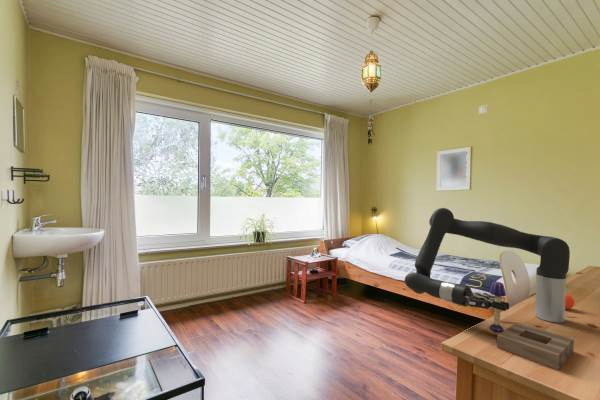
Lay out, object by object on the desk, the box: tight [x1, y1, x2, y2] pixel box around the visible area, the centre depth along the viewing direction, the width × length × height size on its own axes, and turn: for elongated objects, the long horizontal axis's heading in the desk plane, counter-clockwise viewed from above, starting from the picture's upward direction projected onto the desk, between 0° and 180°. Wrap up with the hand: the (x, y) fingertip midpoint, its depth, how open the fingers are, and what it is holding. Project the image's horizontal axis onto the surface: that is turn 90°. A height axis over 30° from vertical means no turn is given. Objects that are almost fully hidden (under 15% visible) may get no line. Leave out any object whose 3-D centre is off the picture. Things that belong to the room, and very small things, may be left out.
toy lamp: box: [489, 281, 507, 334], centre depth 102 cm, size 5×5×17 cm
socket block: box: [496, 322, 575, 370], centre depth 93 cm, size 18×15×4 cm
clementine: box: [565, 293, 575, 310], centre depth 133 cm, size 8×7×7 cm
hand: (507, 307), depth 100 cm, fingers closed on toy lamp
